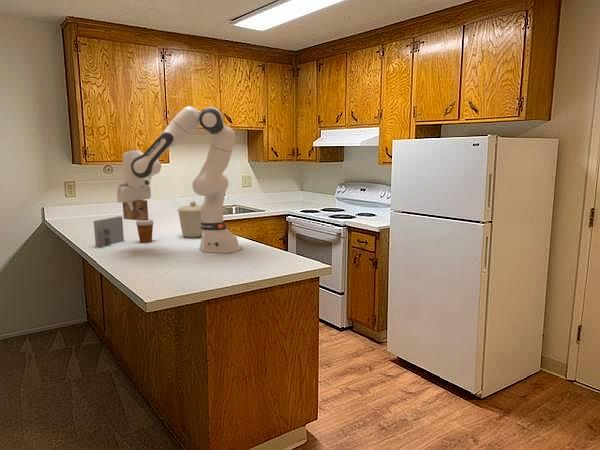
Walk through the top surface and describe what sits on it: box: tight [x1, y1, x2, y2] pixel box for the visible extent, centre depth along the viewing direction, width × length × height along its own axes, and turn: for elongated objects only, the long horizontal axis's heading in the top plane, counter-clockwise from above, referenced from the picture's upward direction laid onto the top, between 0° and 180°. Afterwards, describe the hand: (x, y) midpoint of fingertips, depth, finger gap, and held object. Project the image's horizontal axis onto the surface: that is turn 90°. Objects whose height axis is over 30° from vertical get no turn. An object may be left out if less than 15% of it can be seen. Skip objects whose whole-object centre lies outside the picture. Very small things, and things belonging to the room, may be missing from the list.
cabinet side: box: [93, 215, 125, 248], centre depth 246 cm, size 5×18×14 cm, turn 157°
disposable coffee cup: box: [135, 218, 154, 244], centre depth 252 cm, size 10×10×12 cm
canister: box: [177, 200, 202, 239], centre depth 266 cm, size 18×18×21 cm
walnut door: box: [122, 199, 149, 221], centre depth 228 cm, size 14×4×10 cm, turn 67°
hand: (135, 209), depth 229 cm, fingers closed on walnut door, 2 cm apart
